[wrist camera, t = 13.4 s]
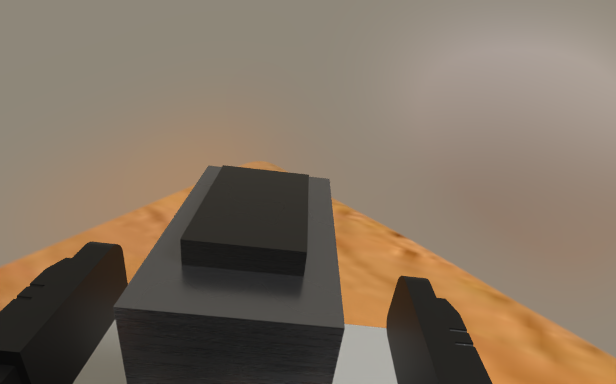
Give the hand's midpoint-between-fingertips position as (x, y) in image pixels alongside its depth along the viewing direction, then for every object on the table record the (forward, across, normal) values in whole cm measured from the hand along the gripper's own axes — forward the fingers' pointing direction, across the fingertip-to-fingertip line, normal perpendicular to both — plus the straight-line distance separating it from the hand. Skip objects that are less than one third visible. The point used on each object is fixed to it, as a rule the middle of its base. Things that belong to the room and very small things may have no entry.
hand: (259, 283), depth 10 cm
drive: (-2, 0, +8) cm, 8 cm away
